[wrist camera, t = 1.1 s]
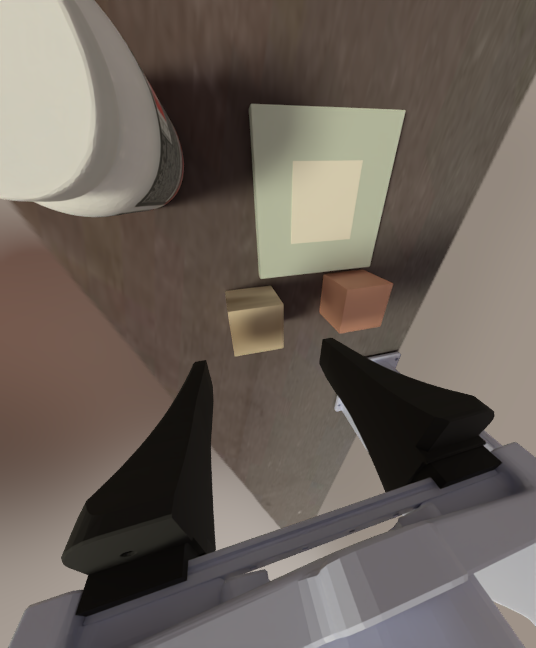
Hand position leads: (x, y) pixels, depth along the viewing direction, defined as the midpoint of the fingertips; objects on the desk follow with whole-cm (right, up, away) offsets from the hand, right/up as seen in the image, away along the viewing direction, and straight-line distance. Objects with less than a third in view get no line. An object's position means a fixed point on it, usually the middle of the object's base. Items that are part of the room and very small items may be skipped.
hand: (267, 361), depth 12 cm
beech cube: (-2, +4, +6) cm, 8 cm away
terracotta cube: (+7, +5, +8) cm, 12 cm away
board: (+4, +11, +3) cm, 12 cm away
